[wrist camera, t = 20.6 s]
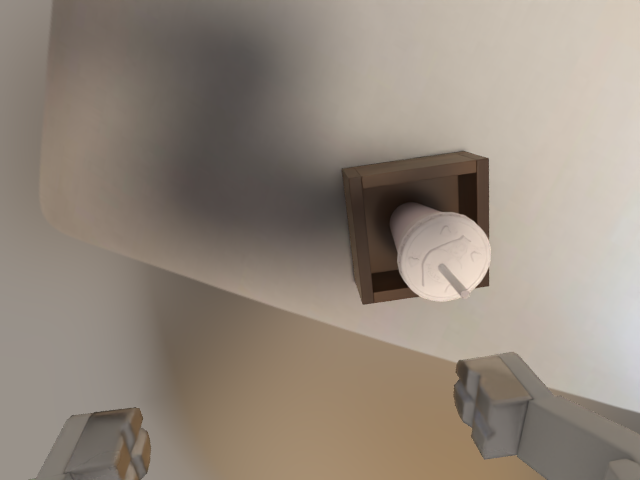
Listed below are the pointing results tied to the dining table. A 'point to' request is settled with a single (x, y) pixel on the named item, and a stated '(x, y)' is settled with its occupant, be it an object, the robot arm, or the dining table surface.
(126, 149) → the dining table surface
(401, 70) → the dining table surface
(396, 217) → the smoothie
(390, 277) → the holder
